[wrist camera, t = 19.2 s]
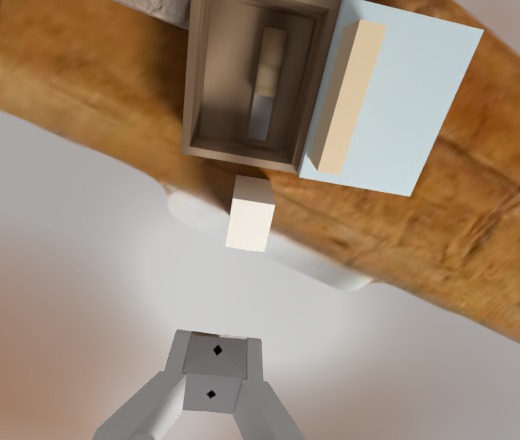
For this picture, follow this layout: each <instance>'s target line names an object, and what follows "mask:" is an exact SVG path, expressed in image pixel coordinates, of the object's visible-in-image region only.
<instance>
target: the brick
mask: <svg viewBox="0 0 520 440" xmlns="http://www.w3.org/2000/svg"><path fill="white" fill-rule="evenodd" d="M113 1H115V2H118V3H120V4H122V5H124V6H127V7H129V8H132V9H135V10H138V11H140V12H143V13H145V14H147V15H150V16H152V17H155V18H157V19H160V20H162V21H164V22H166V23H169V24H172V25H174V26H177V27H180V28H183V29H186V30H189V22H190V8H191V0H113Z"/></svg>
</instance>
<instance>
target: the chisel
mask: <svg viewBox="0 0 520 440" xmlns="http://www.w3.org/2000/svg"><path fill="white" fill-rule="evenodd" d="M287 37H288V32H286V31H283V30H280V29H275V28H269V27H265V28H264V34H263V40H262V46H261V52H260V58H259V64H258V71H257V77H256V83H255V89H254V99H253V105H252V111H251V118H250V124H249V130H248V136H247V138H252V139H257V140H263V141H266V137H267V132H268V127H269V122H270V117H271V111H272V106H273V101H274V97H276V93H277V88H278V83H279V78H280V73H281V67H282V62H283V57H284V52H285V47H286V42H287Z"/></svg>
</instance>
